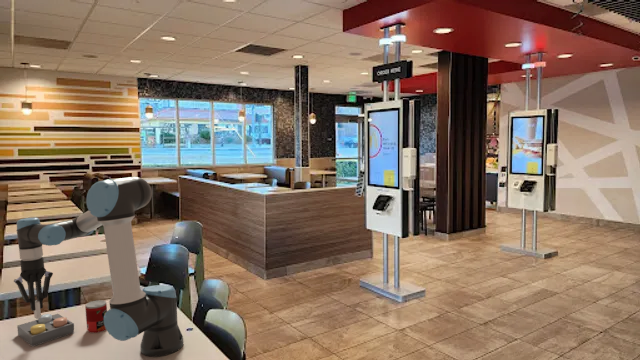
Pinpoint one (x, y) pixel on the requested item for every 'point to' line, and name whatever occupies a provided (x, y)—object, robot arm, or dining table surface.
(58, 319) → the salmon pink rounded dome
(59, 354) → the dining table surface
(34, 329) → the button mustard
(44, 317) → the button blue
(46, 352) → the dining table surface
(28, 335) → the button panel
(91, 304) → the canned food
